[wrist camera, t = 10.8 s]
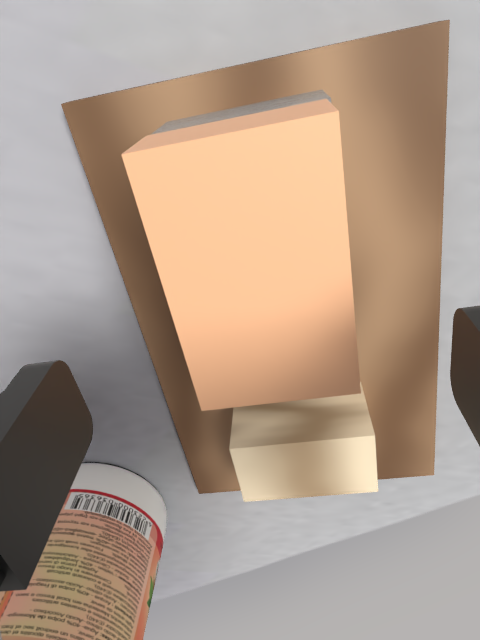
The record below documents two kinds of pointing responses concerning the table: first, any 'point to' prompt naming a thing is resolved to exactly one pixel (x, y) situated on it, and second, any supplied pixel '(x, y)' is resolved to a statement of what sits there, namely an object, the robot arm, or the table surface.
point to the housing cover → (254, 253)
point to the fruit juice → (93, 563)
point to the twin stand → (365, 254)
